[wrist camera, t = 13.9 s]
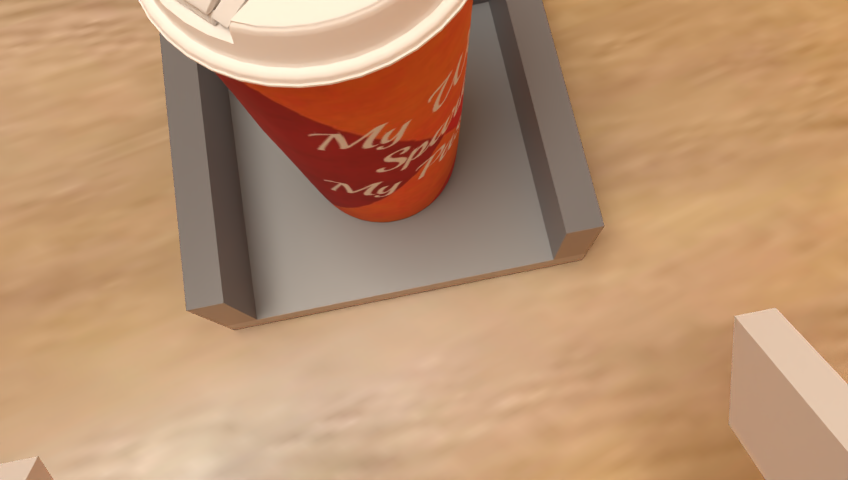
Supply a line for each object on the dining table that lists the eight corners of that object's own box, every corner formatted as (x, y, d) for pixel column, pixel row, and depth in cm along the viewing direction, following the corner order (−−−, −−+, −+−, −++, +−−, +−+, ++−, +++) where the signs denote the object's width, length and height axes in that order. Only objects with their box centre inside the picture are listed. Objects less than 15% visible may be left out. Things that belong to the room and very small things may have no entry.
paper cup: (404, 291, 25) (326, 131, 11) (245, 178, 26) (9, -81, 13) (525, 127, 26) (583, -190, 13) (366, 29, 28) (269, -346, 14)
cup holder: (201, 50, 29) (154, -16, 25) (509, -14, 29) (516, -92, 25) (234, 330, 26) (186, 310, 22) (581, 259, 26) (604, 226, 21)
